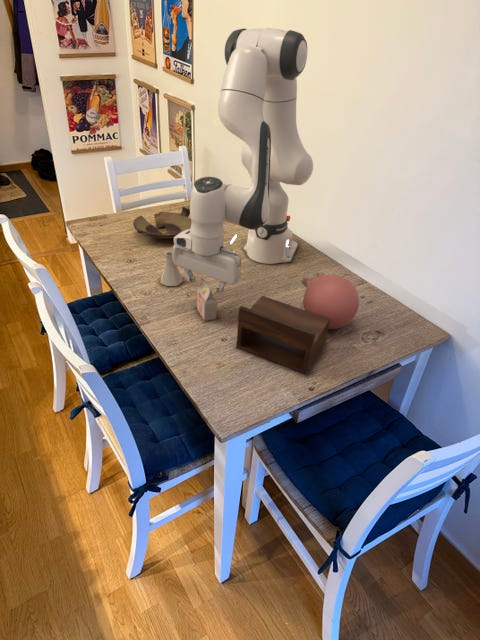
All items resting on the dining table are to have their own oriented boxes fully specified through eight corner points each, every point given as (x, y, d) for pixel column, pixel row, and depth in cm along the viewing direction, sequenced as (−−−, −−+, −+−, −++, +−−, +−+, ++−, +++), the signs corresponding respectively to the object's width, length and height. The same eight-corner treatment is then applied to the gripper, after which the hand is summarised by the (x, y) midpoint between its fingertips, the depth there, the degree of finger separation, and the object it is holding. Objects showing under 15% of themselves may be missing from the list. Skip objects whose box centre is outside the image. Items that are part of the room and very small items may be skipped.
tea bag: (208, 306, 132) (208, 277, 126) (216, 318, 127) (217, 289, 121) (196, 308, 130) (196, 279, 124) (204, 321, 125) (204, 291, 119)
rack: (259, 321, 127) (263, 283, 119) (324, 345, 120) (333, 306, 112) (236, 347, 117) (238, 308, 109) (305, 375, 110) (313, 334, 102)
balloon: (320, 296, 140) (329, 253, 130) (363, 331, 126) (376, 285, 117) (280, 307, 133) (287, 263, 124) (321, 346, 119) (331, 299, 110)
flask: (178, 288, 138) (177, 260, 132) (156, 285, 139) (155, 257, 133) (185, 277, 144) (184, 250, 138) (164, 273, 145) (163, 246, 139)
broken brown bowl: (122, 229, 170) (120, 211, 165) (189, 215, 185) (189, 197, 180) (148, 253, 156) (147, 233, 151) (218, 235, 170) (219, 217, 166)
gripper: (247, 248, 113) (243, 293, 121) (181, 228, 121) (182, 272, 129) (235, 257, 109) (232, 303, 117) (168, 236, 116) (169, 281, 124)
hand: (205, 287), depth 123 cm, fingers open, 8 cm apart
